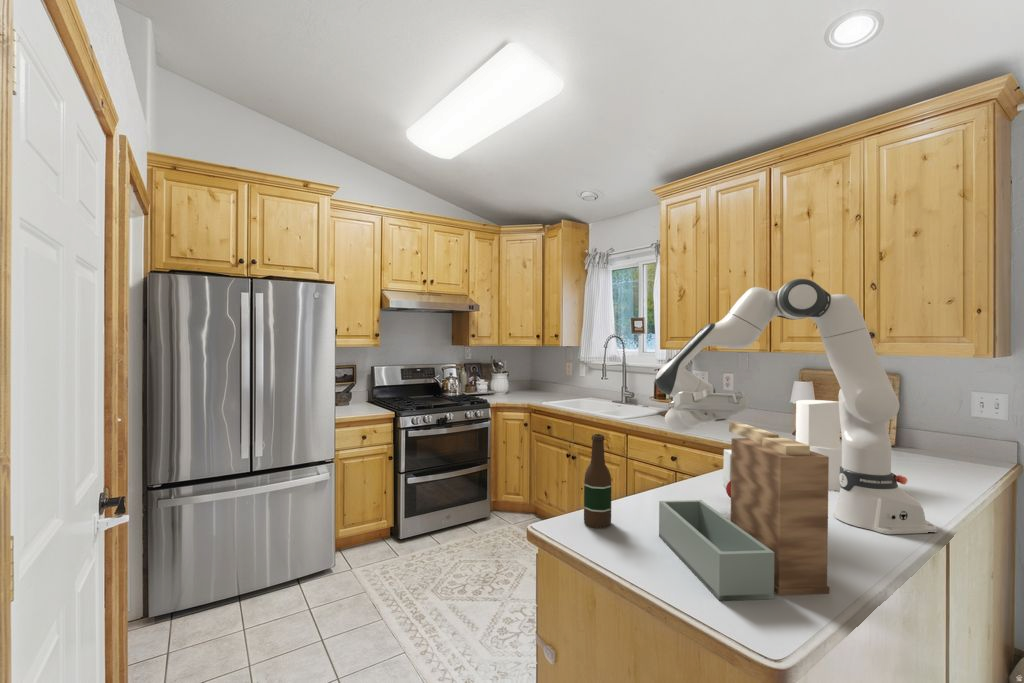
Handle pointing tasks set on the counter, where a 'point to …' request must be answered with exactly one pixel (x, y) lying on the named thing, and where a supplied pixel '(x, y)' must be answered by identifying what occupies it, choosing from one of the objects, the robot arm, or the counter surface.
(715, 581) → the bin
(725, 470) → the supplement box
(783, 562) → the stand
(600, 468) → the beer bottle
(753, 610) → the counter surface
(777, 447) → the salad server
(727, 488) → the red round fruit
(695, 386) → the robot arm
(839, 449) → the white rectangular block
